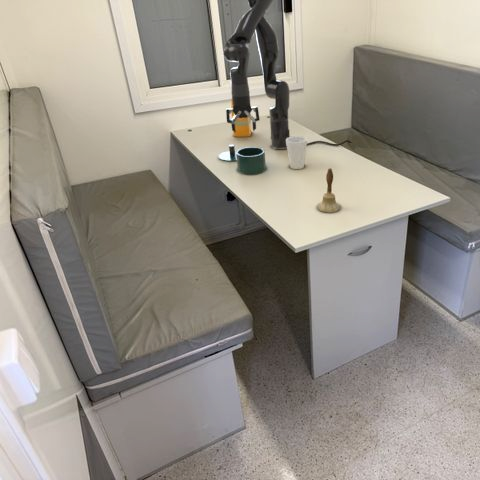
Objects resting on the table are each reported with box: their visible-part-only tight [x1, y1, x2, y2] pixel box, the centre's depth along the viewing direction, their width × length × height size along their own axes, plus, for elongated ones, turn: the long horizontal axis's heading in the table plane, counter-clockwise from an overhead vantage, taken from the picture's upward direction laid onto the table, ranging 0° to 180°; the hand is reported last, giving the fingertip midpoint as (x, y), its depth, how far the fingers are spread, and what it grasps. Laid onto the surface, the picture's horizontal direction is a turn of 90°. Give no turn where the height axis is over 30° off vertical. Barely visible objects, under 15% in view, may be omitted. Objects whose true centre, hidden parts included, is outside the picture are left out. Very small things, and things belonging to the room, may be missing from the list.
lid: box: [218, 144, 237, 162], centre depth 209 cm, size 14×14×6 cm
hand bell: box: [317, 168, 340, 214], centre depth 161 cm, size 8×8×16 cm
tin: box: [235, 146, 267, 176], centre depth 196 cm, size 13×13×8 cm
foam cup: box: [286, 135, 308, 170], centre depth 198 cm, size 10×9×13 cm
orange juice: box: [230, 100, 253, 137], centre depth 237 cm, size 8×9×20 cm
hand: (244, 130), depth 193 cm, fingers open, 8 cm apart
